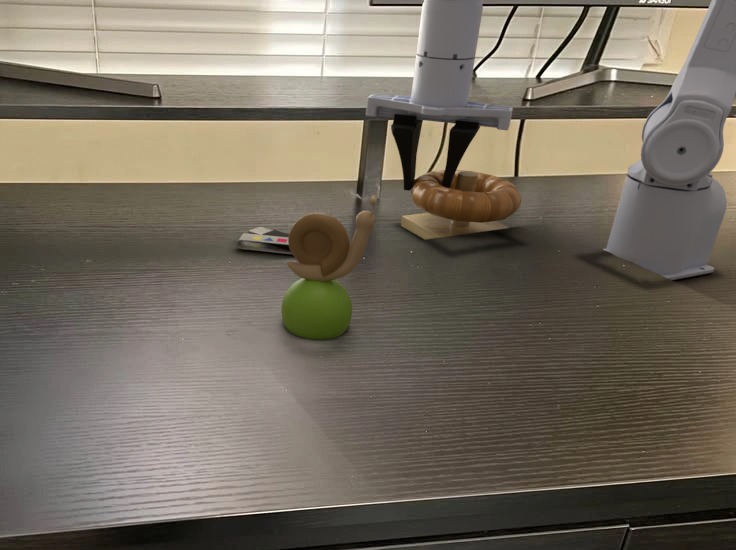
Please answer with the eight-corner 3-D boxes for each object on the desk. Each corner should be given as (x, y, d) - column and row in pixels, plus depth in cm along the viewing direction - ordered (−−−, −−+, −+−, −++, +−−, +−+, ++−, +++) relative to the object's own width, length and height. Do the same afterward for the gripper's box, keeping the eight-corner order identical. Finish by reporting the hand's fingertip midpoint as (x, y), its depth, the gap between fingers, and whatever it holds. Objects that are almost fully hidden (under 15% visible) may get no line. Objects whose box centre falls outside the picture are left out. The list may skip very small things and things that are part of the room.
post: (465, 217, 86) (475, 159, 83) (518, 243, 79) (531, 181, 76) (400, 225, 83) (408, 166, 80) (449, 253, 76) (459, 189, 73)
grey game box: (326, 254, 74) (326, 244, 74) (293, 268, 71) (294, 258, 70) (261, 233, 79) (261, 224, 79) (227, 245, 76) (227, 236, 75)
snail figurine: (358, 363, 56) (376, 208, 50) (274, 353, 57) (281, 199, 51) (364, 331, 60) (380, 185, 54) (286, 322, 61) (293, 178, 55)
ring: (471, 189, 86) (476, 164, 85) (539, 220, 77) (546, 192, 76) (390, 197, 82) (393, 170, 81) (451, 231, 73) (456, 201, 72)
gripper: (364, 54, 73) (351, 191, 79) (518, 66, 68) (491, 210, 75) (380, 47, 78) (367, 174, 85) (523, 57, 74) (498, 191, 81)
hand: (426, 190), depth 80 cm, fingers closed on ring, 3 cm apart
